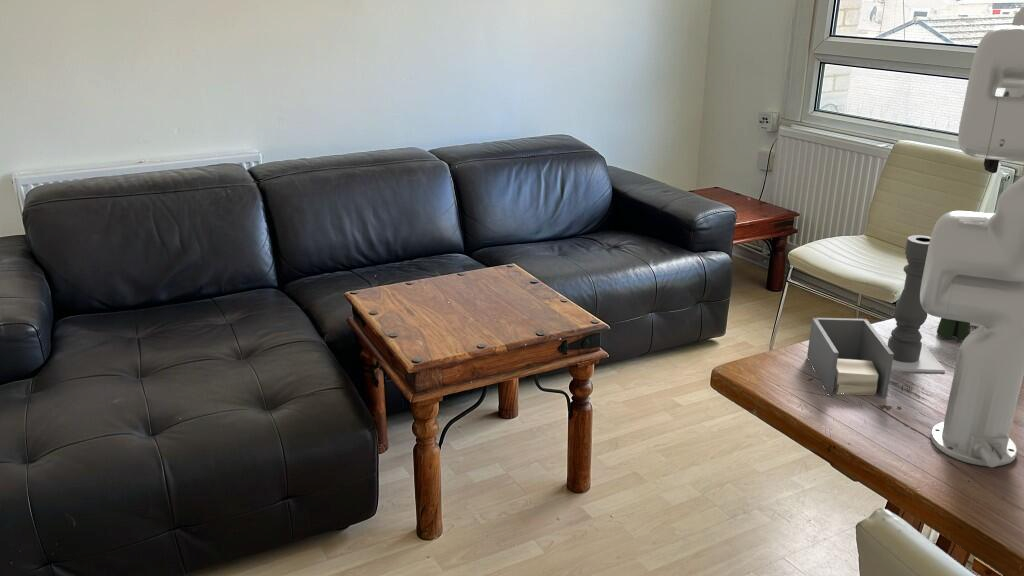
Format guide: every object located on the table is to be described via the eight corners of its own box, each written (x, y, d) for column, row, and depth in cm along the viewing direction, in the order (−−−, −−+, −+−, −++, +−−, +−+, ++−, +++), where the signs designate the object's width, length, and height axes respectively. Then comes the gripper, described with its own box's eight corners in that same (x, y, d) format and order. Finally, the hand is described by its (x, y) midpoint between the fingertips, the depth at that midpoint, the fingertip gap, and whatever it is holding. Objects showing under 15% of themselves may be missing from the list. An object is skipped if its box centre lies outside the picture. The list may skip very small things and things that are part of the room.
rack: (886, 397, 152) (893, 354, 148) (827, 395, 153) (834, 352, 149) (860, 359, 166) (866, 318, 163) (807, 357, 167) (812, 317, 164)
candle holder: (924, 362, 163) (947, 244, 154) (893, 362, 163) (914, 244, 154) (911, 349, 169) (932, 234, 160) (881, 349, 169) (900, 234, 160)
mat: (944, 372, 160) (945, 369, 160) (881, 370, 162) (882, 368, 161) (922, 346, 172) (922, 343, 171) (863, 344, 173) (863, 342, 172)
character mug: (925, 340, 174) (936, 284, 170) (922, 327, 180) (933, 272, 176) (982, 347, 171) (995, 290, 166) (978, 334, 177) (990, 278, 172)
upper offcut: (876, 387, 151) (878, 375, 150) (836, 384, 153) (838, 372, 152) (869, 372, 157) (871, 360, 156) (831, 369, 158) (833, 358, 157)
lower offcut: (875, 397, 153) (877, 385, 152) (837, 396, 153) (838, 384, 152) (864, 382, 158) (866, 370, 157) (827, 381, 159) (829, 369, 158)
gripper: (998, 77, 137) (978, 176, 144) (1104, 76, 137) (1079, 176, 143) (977, 72, 144) (959, 166, 151) (1078, 71, 143) (1055, 166, 150)
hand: (1017, 171), depth 147 cm, fingers open, 9 cm apart
